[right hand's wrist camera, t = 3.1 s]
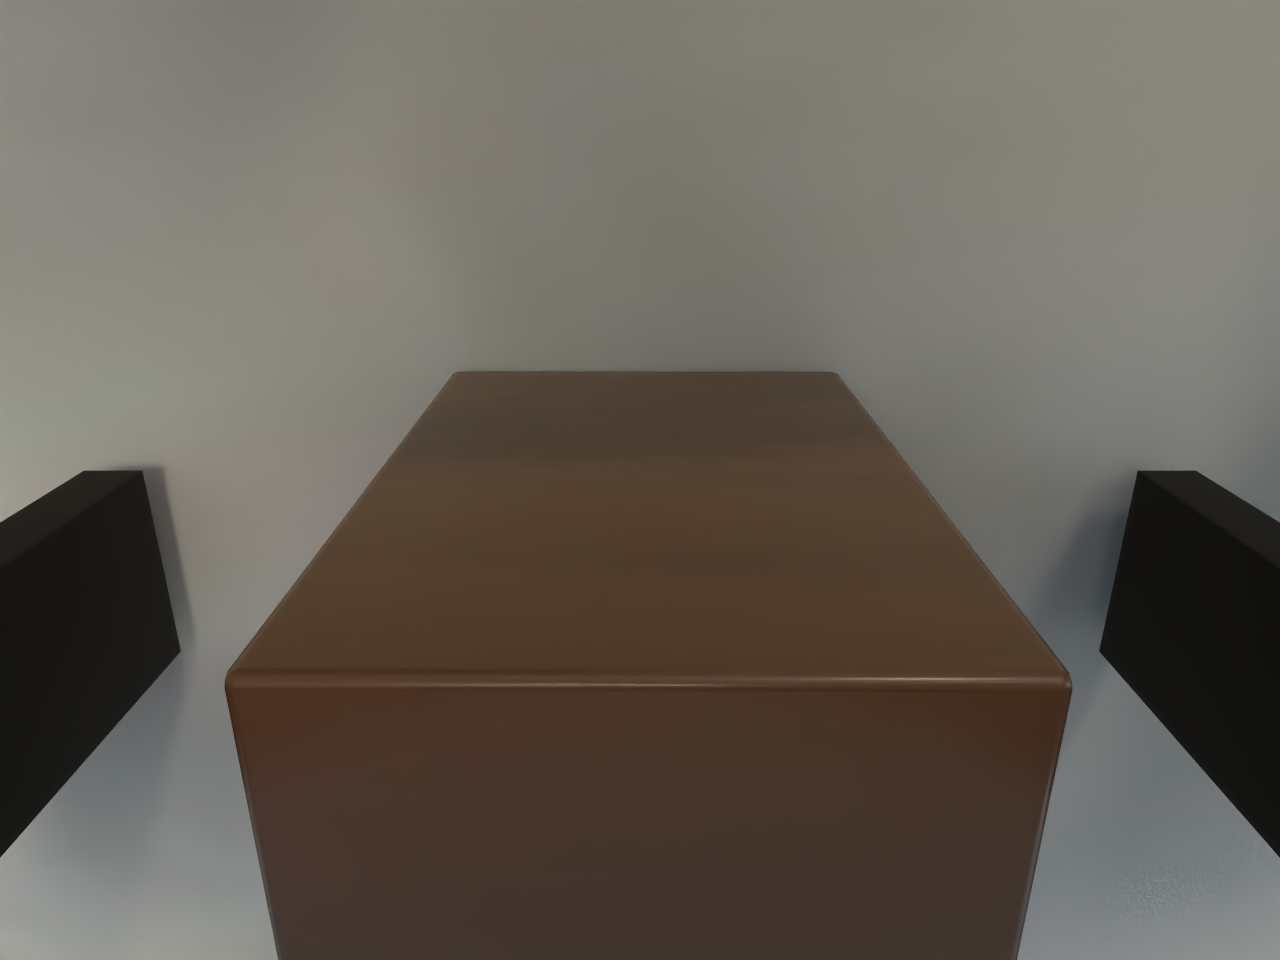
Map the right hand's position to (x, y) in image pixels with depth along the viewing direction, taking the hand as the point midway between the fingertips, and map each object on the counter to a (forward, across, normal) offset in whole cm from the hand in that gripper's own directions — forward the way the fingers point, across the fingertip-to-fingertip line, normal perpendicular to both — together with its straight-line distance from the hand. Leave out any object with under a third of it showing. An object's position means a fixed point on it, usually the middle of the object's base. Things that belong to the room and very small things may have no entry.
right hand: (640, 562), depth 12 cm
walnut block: (0, 0, 0) cm, 1 cm away
